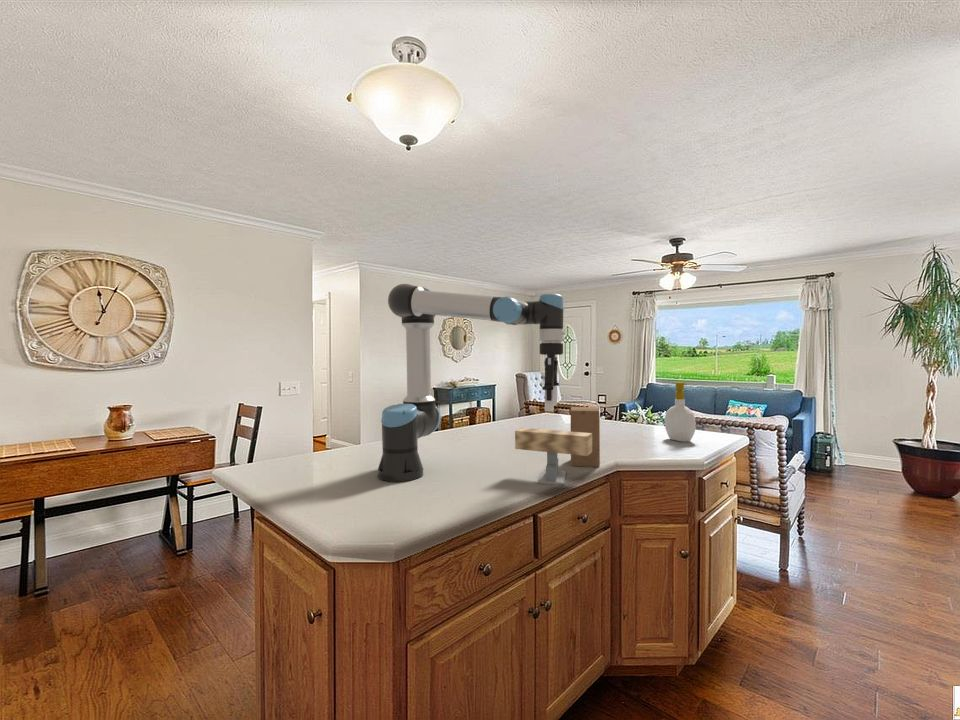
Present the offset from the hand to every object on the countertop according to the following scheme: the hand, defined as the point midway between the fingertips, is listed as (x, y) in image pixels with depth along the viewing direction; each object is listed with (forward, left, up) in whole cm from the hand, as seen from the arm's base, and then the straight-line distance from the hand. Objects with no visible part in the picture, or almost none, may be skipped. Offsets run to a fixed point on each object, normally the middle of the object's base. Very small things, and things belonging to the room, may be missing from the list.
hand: (551, 408), depth 148 cm
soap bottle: (+51, +70, -23) cm, 90 cm away
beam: (+1, 0, -14) cm, 14 cm away
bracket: (0, 0, -23) cm, 23 cm away
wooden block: (+10, +21, -23) cm, 33 cm away
